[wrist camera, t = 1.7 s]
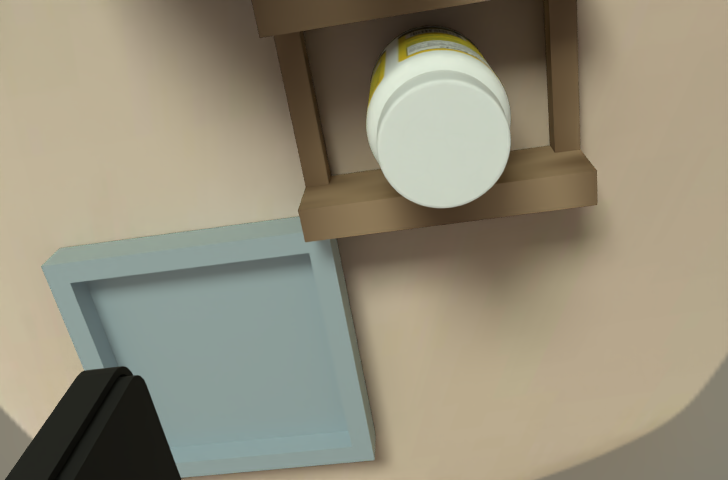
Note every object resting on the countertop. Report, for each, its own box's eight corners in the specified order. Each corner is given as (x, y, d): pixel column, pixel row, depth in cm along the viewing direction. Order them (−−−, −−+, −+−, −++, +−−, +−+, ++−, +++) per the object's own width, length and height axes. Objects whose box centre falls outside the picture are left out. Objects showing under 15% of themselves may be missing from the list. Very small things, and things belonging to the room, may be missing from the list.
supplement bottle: (418, 162, 29) (426, 249, 21) (347, 77, 27) (328, 137, 20) (511, 92, 27) (556, 158, 20) (441, -3, 26) (460, 30, 18)
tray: (331, 212, 30) (327, 229, 28) (375, 435, 35) (374, 460, 34) (59, 248, 31) (41, 266, 30) (142, 457, 37) (131, 482, 35)
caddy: (568, -66, 24) (594, -63, 21) (575, 173, 28) (597, 204, 25) (268, -14, 26) (250, -4, 23) (314, 208, 30) (305, 242, 27)
